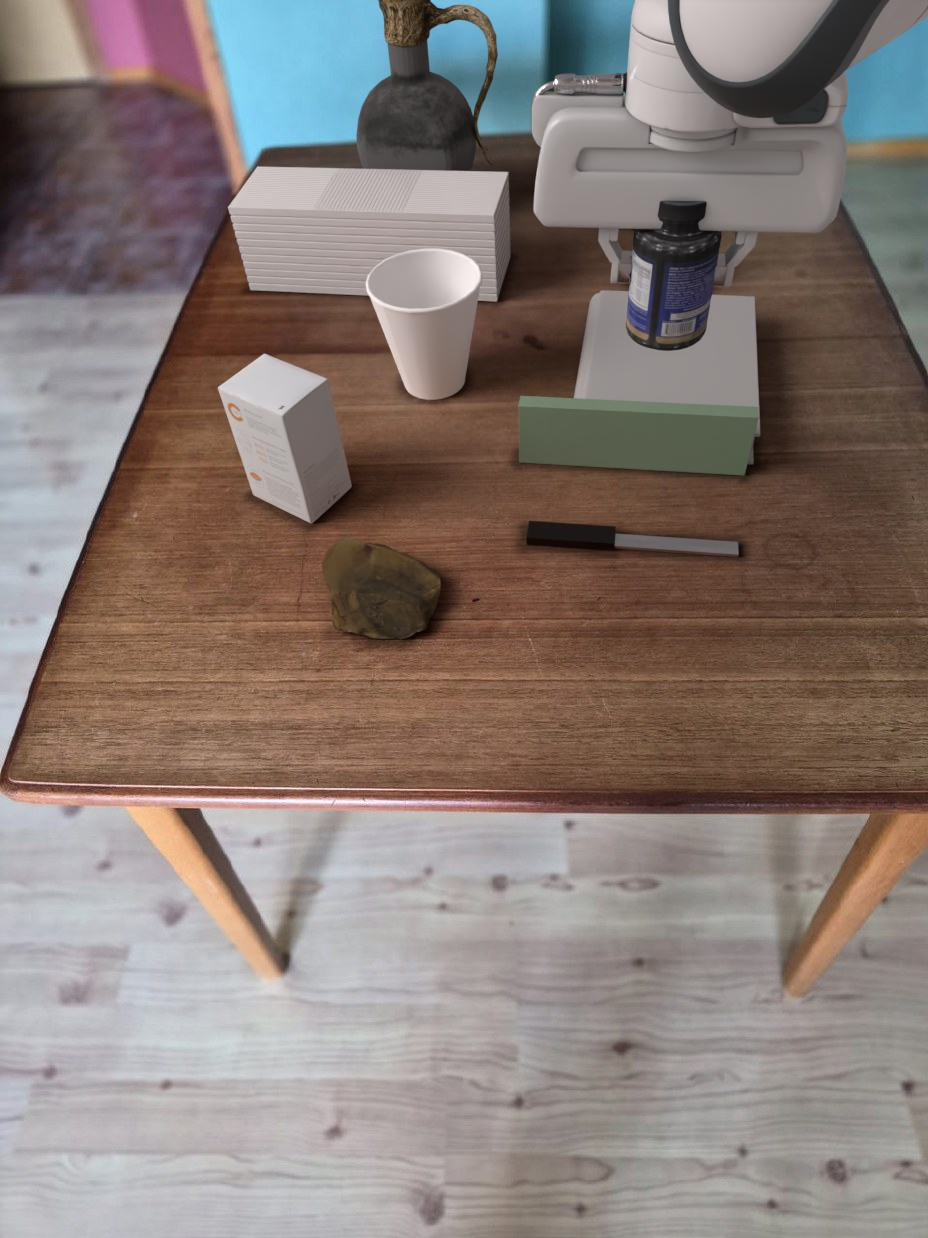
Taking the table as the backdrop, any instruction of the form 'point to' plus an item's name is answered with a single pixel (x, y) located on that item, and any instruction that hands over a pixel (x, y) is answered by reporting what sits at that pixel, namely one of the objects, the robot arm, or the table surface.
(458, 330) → the cup
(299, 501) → the small box
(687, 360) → the white rectangular block
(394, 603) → the decorative stone
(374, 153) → the pitcher
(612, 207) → the robot arm
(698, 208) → the pill bottle
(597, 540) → the table knife
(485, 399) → the table surface
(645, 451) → the green board
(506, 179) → the white ribbed block
